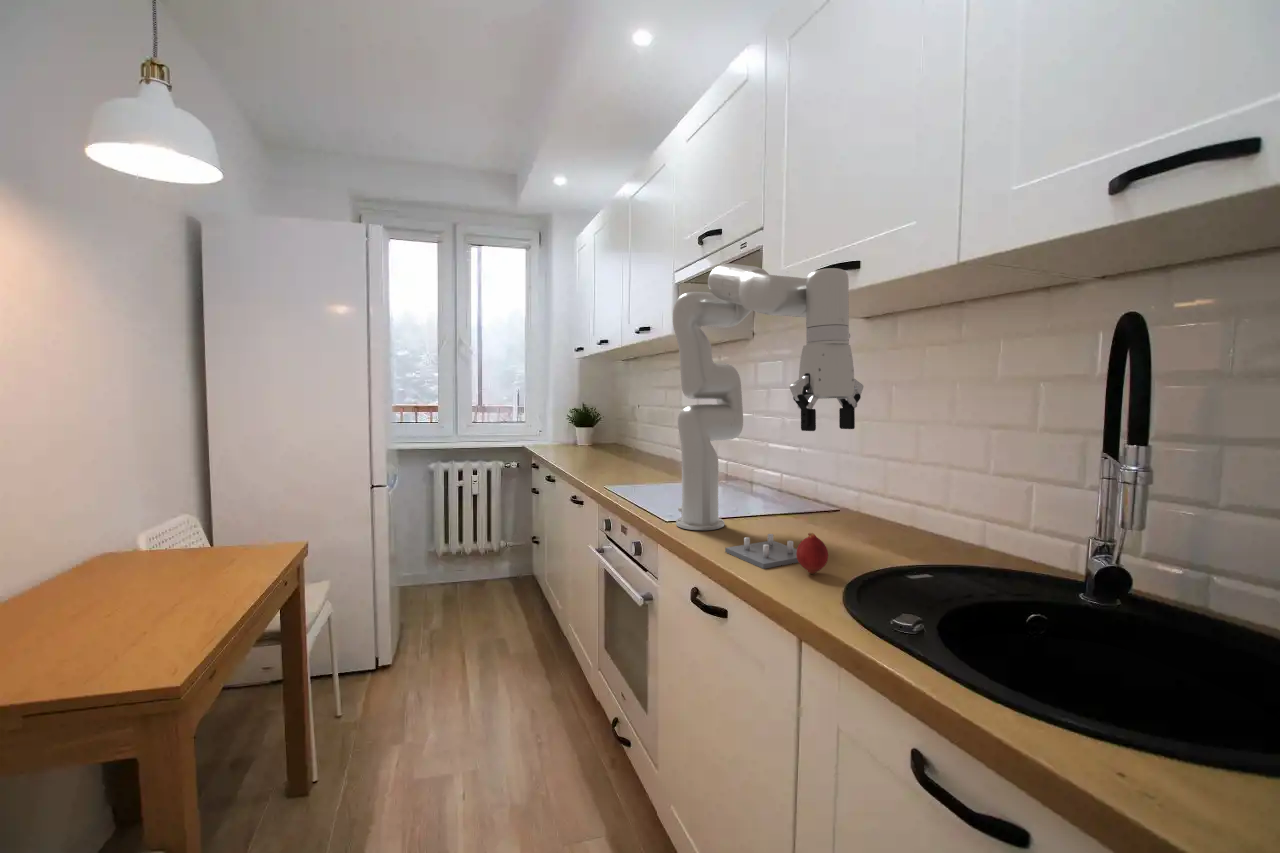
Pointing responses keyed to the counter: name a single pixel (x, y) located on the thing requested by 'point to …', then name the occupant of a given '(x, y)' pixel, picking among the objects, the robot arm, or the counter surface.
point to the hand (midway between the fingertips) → (828, 429)
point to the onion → (812, 553)
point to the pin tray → (765, 553)
